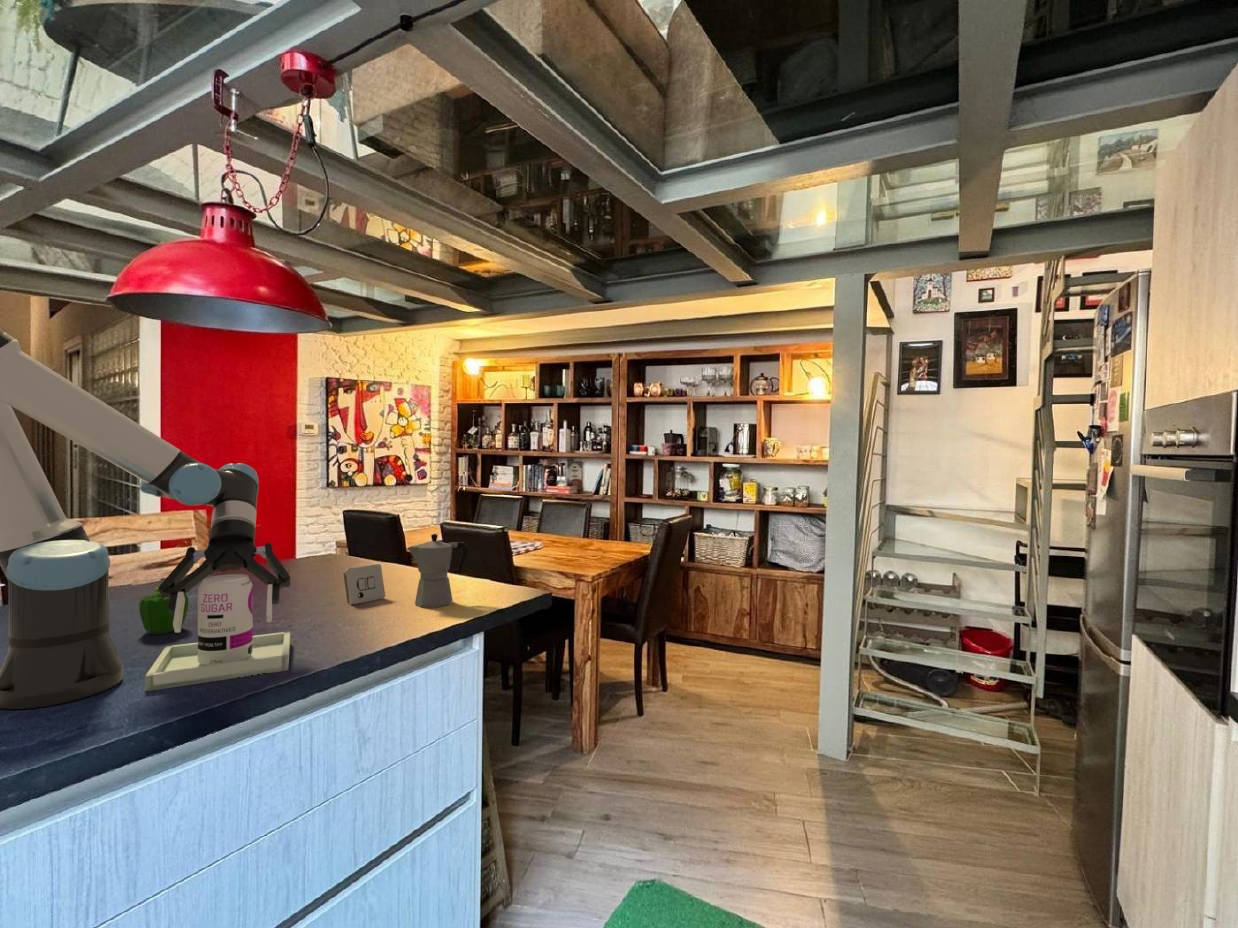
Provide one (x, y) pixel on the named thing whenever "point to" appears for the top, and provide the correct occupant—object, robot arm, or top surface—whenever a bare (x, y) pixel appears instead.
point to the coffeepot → (436, 571)
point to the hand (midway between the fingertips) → (224, 623)
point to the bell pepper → (158, 613)
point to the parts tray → (184, 668)
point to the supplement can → (225, 619)
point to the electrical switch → (364, 584)
